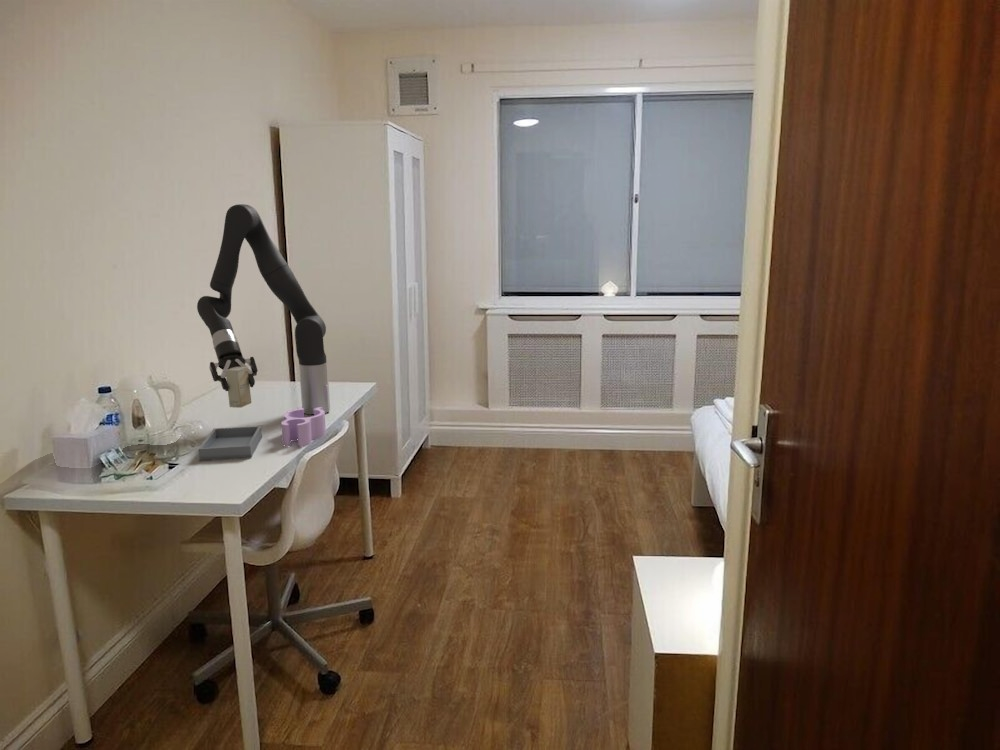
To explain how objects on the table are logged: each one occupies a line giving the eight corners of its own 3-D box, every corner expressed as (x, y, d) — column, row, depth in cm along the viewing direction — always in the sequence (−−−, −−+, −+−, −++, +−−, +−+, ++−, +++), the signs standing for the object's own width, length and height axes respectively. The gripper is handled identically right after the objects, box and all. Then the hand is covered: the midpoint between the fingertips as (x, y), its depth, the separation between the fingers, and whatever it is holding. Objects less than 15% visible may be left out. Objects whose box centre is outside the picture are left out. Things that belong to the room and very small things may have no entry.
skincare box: (241, 408, 228) (237, 370, 226) (228, 407, 229) (224, 370, 227) (252, 402, 234) (248, 366, 232) (239, 402, 235) (235, 365, 233)
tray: (262, 436, 224) (261, 426, 223) (251, 457, 205) (250, 446, 204) (215, 439, 222) (213, 428, 221) (199, 461, 203) (198, 449, 202)
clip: (314, 447, 214) (313, 425, 212) (272, 447, 214) (271, 425, 213) (331, 427, 234) (329, 407, 232) (292, 427, 234) (291, 407, 232)
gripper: (204, 342, 229) (217, 384, 223) (250, 337, 237) (264, 377, 230) (202, 356, 235) (215, 398, 228) (247, 350, 243) (261, 390, 236)
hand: (239, 387), depth 229 cm, fingers closed on skincare box, 7 cm apart
